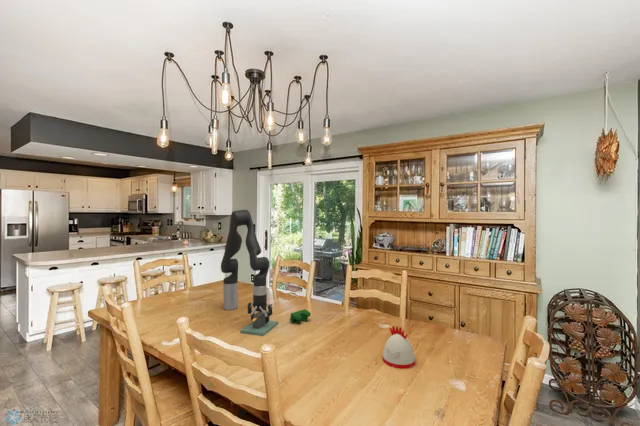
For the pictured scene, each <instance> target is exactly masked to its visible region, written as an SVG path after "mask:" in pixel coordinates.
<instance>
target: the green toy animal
mask: <svg viewBox="0 0 640 426" xmlns="http://www.w3.org/2000/svg"><path fill="white" fill-rule="evenodd" d="M311 314H312V313H311V312H310V311H309V310H307V309H301V310H298V311H295V312H291V313H290V316H289V321H290V323H292V324H295V323H297V324H299V325H301V324H302V321H304V322H306V323H307V322H308V318H309V317H311Z"/></svg>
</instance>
